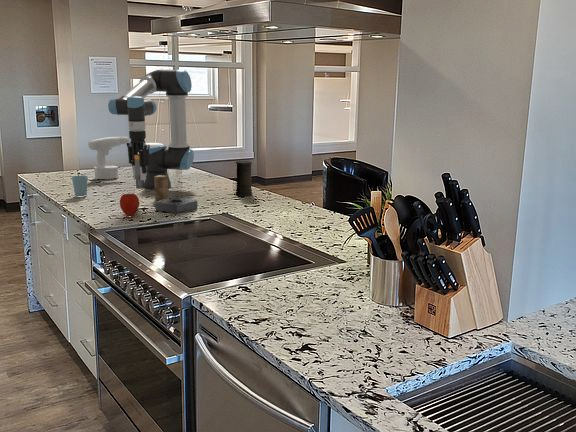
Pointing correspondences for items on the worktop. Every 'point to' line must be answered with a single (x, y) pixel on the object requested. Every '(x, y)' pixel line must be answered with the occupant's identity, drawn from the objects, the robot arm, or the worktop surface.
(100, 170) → the power drill
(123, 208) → the apple
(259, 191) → the worktop surface
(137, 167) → the round bit
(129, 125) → the robot arm
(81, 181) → the cup
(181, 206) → the holder plate
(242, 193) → the container
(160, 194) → the square bit
